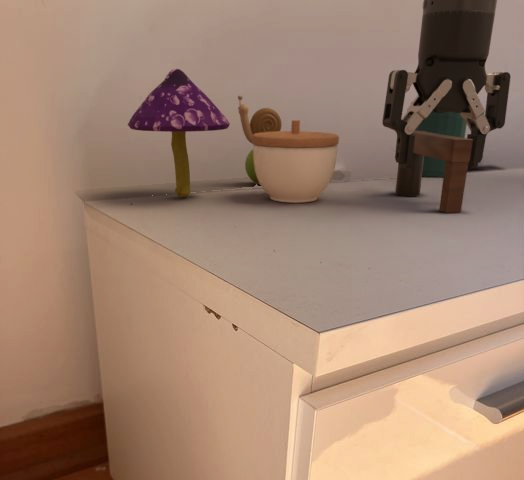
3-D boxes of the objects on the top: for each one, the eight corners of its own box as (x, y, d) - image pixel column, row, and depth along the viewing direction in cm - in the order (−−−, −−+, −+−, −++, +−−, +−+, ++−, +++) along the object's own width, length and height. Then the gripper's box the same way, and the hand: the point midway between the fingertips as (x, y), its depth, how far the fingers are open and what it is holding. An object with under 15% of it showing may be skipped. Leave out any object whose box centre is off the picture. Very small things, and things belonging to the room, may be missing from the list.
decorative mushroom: (182, 186, 82) (176, 70, 75) (250, 196, 75) (250, 69, 68) (113, 198, 73) (99, 68, 66) (183, 211, 66) (175, 66, 59)
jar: (443, 169, 101) (452, 101, 96) (469, 176, 93) (480, 103, 88) (395, 170, 99) (402, 101, 95) (418, 177, 91) (427, 103, 87)
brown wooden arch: (465, 212, 66) (477, 139, 63) (440, 213, 66) (450, 139, 62) (413, 192, 79) (420, 130, 75) (391, 192, 78) (397, 130, 75)
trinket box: (289, 209, 67) (292, 124, 63) (235, 197, 74) (234, 119, 70) (352, 199, 73) (358, 121, 69) (296, 188, 80) (298, 117, 76)
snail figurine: (235, 182, 86) (234, 95, 80) (276, 181, 87) (277, 95, 82) (242, 188, 81) (242, 95, 76) (286, 186, 82) (288, 95, 77)
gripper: (412, 4, 57) (395, 172, 64) (539, 9, 59) (509, 170, 66) (383, 13, 64) (370, 164, 70) (498, 17, 66) (475, 163, 73)
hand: (437, 167), depth 68 cm, fingers open, 8 cm apart
